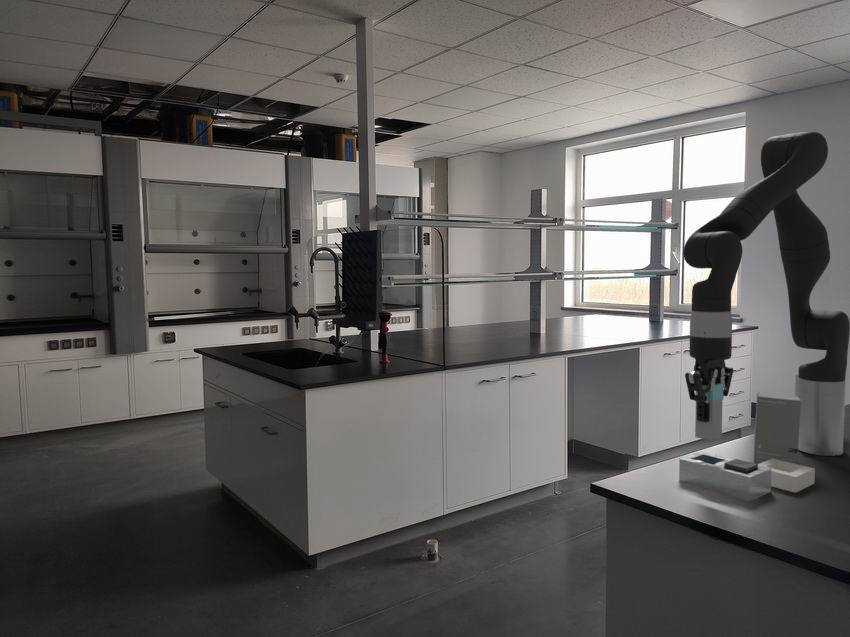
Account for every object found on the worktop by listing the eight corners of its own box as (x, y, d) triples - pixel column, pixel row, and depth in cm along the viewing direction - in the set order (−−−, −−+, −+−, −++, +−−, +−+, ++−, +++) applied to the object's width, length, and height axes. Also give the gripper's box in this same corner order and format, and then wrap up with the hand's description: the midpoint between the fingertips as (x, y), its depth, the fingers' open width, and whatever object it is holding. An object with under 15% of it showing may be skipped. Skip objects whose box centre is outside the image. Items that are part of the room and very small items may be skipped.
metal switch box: (701, 476, 125) (701, 447, 124) (770, 496, 113) (771, 464, 113) (679, 485, 120) (679, 454, 120) (749, 506, 109) (750, 473, 108)
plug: (721, 438, 118) (722, 383, 117) (712, 441, 116) (713, 385, 116) (704, 434, 121) (705, 380, 120) (695, 437, 119) (696, 382, 118)
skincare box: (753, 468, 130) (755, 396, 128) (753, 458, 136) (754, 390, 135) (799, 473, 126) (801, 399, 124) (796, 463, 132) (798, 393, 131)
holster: (771, 477, 124) (772, 458, 123) (814, 488, 117) (814, 468, 117) (752, 485, 119) (752, 466, 119) (795, 497, 113) (795, 477, 112)
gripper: (709, 338, 110) (707, 429, 111) (748, 332, 118) (746, 418, 119) (672, 335, 116) (670, 421, 118) (711, 330, 124) (710, 411, 126)
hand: (708, 419), depth 118 cm, fingers closed on plug, 3 cm apart
